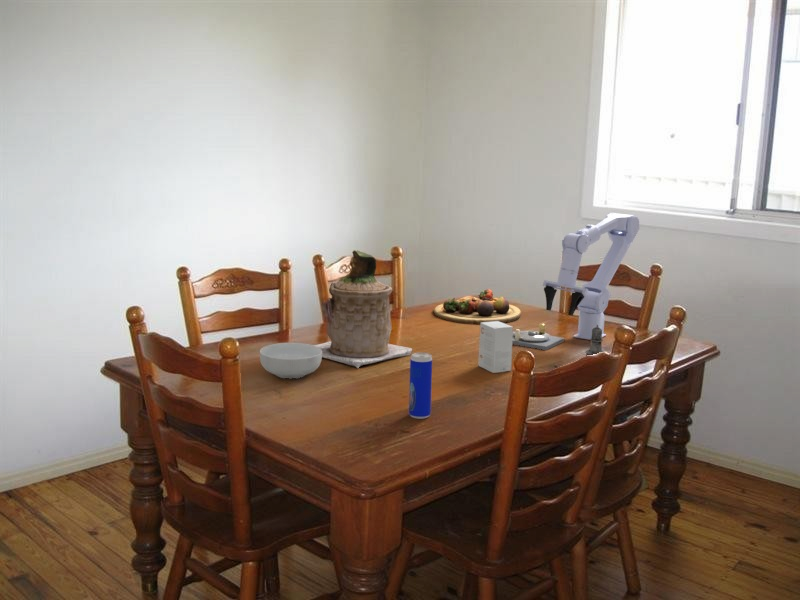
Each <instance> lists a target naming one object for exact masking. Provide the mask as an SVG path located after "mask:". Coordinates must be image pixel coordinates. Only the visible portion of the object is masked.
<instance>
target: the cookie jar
mask: <svg viewBox="0 0 800 600" xmlns="http://www.w3.org/2000/svg"><path fill="white" fill-rule="evenodd" d="M349 265H350V266H351V268H350V272H349V273H347V274H345V275H344V276H342V277H341V278H340V279H339V280H338V281H337V282H336V281H332V282H331V283H330V285H329V288H328V291H329V292H328V293H329V294H330V295H331V297H328V298H327V299H326V301H324V302H322V304H321V308H322V311H323V313H324V316H325V318H326V321H327V322H326V335H327V337H328V338H329V339H330V340H329V341H326V342H323V343H318V344H312V345H313V346H316V347H318V348H320V349H321V350H322V358H324V359H327V360H331V361H335V362H339V363H342V364H346V365H348V366H352V367H354V368H357V369H358V368H359V367H361V366H363V365H370V364H375V363H377V362H382V361H386V360H391V359H395V358H399V357H406V356H410V355H412V351H413V348H411V347H407V346H401V345H397V344H391V343H389V342H390V341H389V340H390V337H391V331H392V320H391V306H390V305H391V304H390V295H391V293H392V292H393V288H392V287H391V286H389V284H384V283H382V282H381V281H379V280H378V279H377V278H375V275H376V270H377V260H376V258H375V257H374V256H373V255H371V254H368V253H366V252H363V251H360V250H359V249H357V250H356V249H353V250H352V257H351V259H350V261H349ZM359 369H360V368H359Z"/></svg>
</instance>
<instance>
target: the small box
mask: <svg viewBox="0 0 800 600" xmlns="http://www.w3.org/2000/svg"><path fill="white" fill-rule="evenodd" d="M513 332H514V326H512V325H509V324H507V323H502V322H499V321H493V322H481V323H480V324H479V343H478V344H479V345H478V362H477V363H478V364H477V365H478V366H479V367H480V368H482V369H484V370H486V371H488V372H490V373H492V374H495V373H496V374H497V373H505V372H511V371H512V357H513V344H512V341H513Z"/></svg>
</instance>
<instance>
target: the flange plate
mask: <svg viewBox="0 0 800 600" xmlns="http://www.w3.org/2000/svg"><path fill="white" fill-rule="evenodd" d="M513 336H515V331H513ZM550 336H551V335H550V334H549V333H547V332H546V323H539V324H538V330H520V339H519V340H523V341H529V342H544V341H548V340H549V339H550Z"/></svg>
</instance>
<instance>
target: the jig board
mask: <svg viewBox="0 0 800 600" xmlns="http://www.w3.org/2000/svg"><path fill="white" fill-rule="evenodd" d="M520 331H521V330H520V329H518V328H516V329H515V331H514V332H515V336H513V341H512V345H513V344H514V346H519V345H520V347H524V346H525V347H524V348H530V347H531V349H535V348H537V349H536V350H541V349H542V350H543V351H547V350H549V348H550V349H552V348H554V347H556V346H558V345H560V344H562V343H564V342H565V337H562V336H561V337H559V336H554V335H550V339H549V340H548V341H544V342H529V341H523V340H519V339H520Z"/></svg>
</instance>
